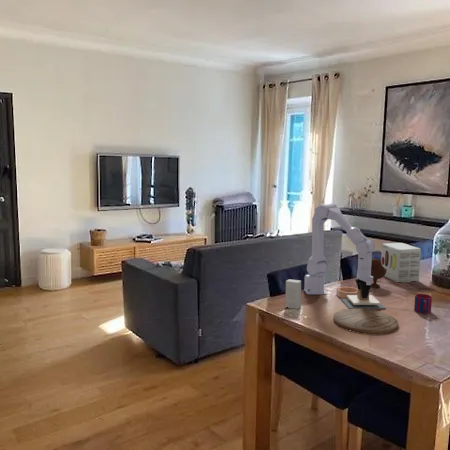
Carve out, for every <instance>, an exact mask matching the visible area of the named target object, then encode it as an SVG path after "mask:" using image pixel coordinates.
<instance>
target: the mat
mask: <svg viewBox="0 0 450 450" xmlns="http://www.w3.org/2000/svg"><path fill="white" fill-rule="evenodd" d="M340 300H341V302H342V304H344V305H345V307H346V308H347V307H348V308H347V309H369V310H386V307H385V306H384V305H383V304H382V303H381V302H380V305H354V304H353V303H352V302H351V301H350V300H349V299H345V298H341V299H340Z"/></svg>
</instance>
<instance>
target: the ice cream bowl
mask: <svg viewBox="0 0 450 450" xmlns="http://www.w3.org/2000/svg"><path fill="white" fill-rule="evenodd" d="M386 271H387V269H386V268H384V267H383V266H382V264H381V259H378V258H373V257H372V262H371V276H373V279H372V281H373V282H372V284H373V286H372V287H371V289H380V288H381V285H380V284H378V280H379V279H382V278H384V277H385V274H386Z"/></svg>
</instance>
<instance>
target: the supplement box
mask: <svg viewBox="0 0 450 450" xmlns="http://www.w3.org/2000/svg"><path fill="white" fill-rule="evenodd" d="M421 251H422V249H421V248H420V247H417V246H413V245H411V244H407V243H404V242H391V243H389V242H388V243H387V242H386V243H385V242H384V243H382V244H381V255H380V256H381V257H380V261H381V264H382V266H383V267H384V268H386V269H387V271H386V274H385V276H384V277H385V278H386V279H390V280H391V281H393V282H395V283H397V282H402V283H412V282H411V281H416V282H419V281H420V269H421V268H420V267H421V265H420V264H421V254H422V253H421Z"/></svg>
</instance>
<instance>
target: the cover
mask: <svg viewBox="0 0 450 450" xmlns="http://www.w3.org/2000/svg"><path fill="white" fill-rule="evenodd" d="M347 298H348V299H349V300H350V301H351V302H352V303H353V304H354V305H380V303H381V302H380V301H379V300H378V299H377V298H376V297H374V295H372V294H370V293H369V294H368V297H367V298H362V294H361V289H358V293H357V295H347Z"/></svg>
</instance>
